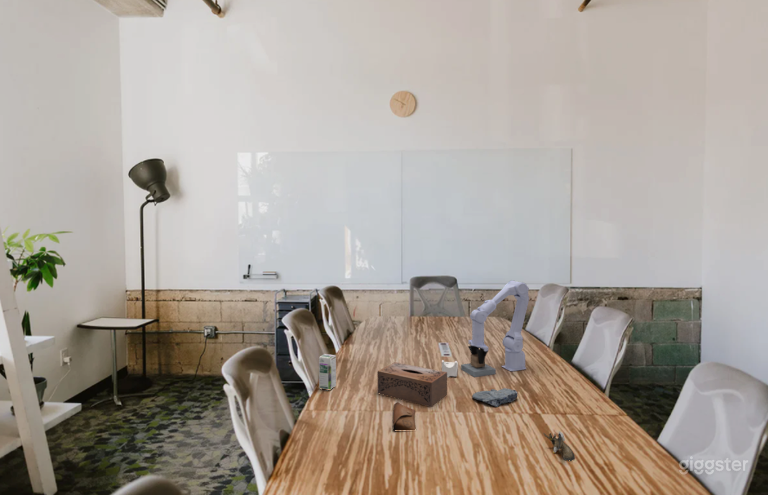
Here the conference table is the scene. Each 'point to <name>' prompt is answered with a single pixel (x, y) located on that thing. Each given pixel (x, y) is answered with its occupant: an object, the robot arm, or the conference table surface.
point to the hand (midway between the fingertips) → (478, 361)
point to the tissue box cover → (413, 383)
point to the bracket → (450, 368)
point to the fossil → (496, 396)
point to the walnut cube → (476, 361)
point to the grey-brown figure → (561, 446)
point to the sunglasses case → (403, 417)
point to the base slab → (478, 370)
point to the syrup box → (327, 371)
